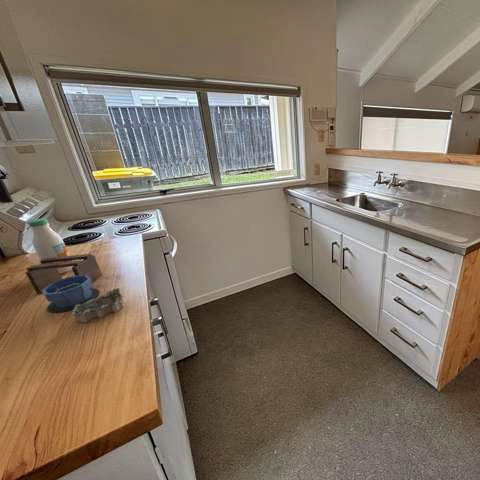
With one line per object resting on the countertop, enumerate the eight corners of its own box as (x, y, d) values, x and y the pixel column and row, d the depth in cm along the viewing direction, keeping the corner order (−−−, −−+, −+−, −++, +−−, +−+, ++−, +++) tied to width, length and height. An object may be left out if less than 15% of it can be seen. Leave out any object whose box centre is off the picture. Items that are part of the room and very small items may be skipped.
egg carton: (125, 298, 78) (120, 286, 77) (124, 311, 72) (119, 298, 71) (79, 311, 73) (73, 299, 71) (74, 326, 67) (68, 313, 65)
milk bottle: (56, 277, 92) (29, 224, 84) (43, 274, 94) (15, 223, 87) (80, 266, 99) (57, 217, 91) (67, 264, 101) (44, 216, 93)
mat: (35, 315, 72) (35, 314, 72) (67, 291, 83) (67, 290, 83) (83, 309, 73) (82, 308, 73) (108, 286, 84) (107, 286, 84)
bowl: (41, 312, 73) (32, 296, 71) (68, 291, 82) (60, 277, 80) (81, 307, 74) (73, 291, 72) (103, 287, 83) (96, 273, 81)
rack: (37, 294, 82) (23, 269, 79) (58, 279, 90) (47, 256, 87) (85, 288, 84) (74, 264, 80) (102, 274, 92) (92, 252, 89)
